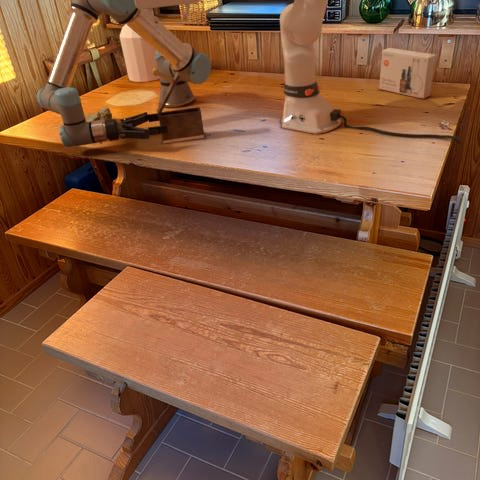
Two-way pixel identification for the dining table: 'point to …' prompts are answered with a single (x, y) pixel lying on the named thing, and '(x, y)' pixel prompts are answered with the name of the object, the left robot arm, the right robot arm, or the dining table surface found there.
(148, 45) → the container
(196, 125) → the chest
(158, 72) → the lid
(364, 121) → the dining table surface
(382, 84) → the skincare box
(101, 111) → the rock
